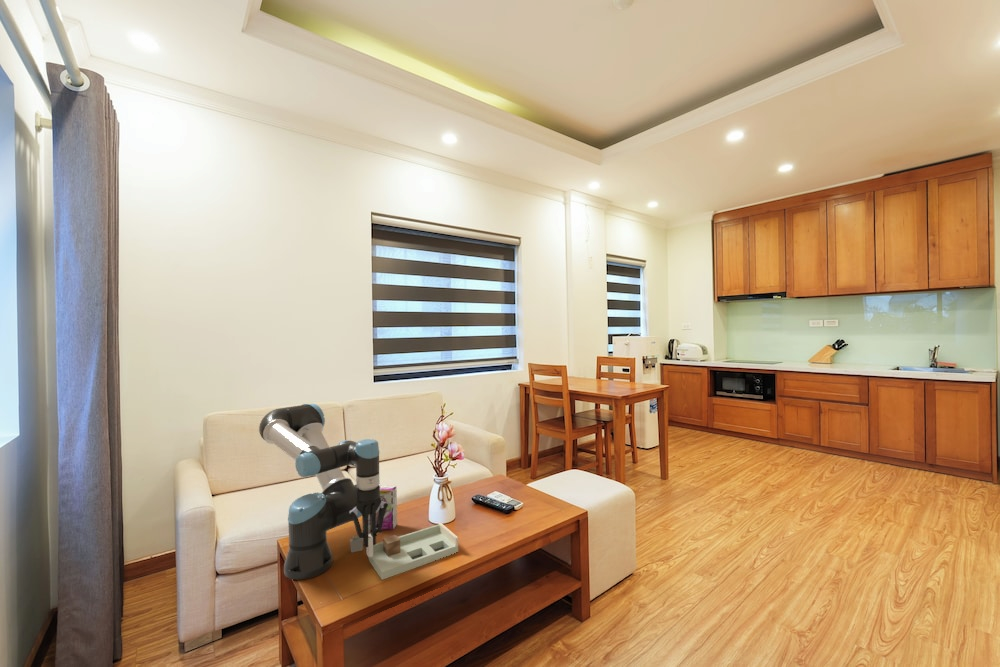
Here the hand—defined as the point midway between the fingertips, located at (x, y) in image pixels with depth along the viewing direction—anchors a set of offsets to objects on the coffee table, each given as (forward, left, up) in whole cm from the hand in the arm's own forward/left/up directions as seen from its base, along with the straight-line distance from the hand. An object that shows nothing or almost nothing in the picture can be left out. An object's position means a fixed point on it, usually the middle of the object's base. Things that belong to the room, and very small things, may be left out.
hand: (369, 554), depth 144 cm
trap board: (+15, -3, -4) cm, 16 cm away
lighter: (+1, +13, -4) cm, 14 cm away
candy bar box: (+13, +25, -4) cm, 28 cm away
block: (+8, 0, -2) cm, 8 cm away
